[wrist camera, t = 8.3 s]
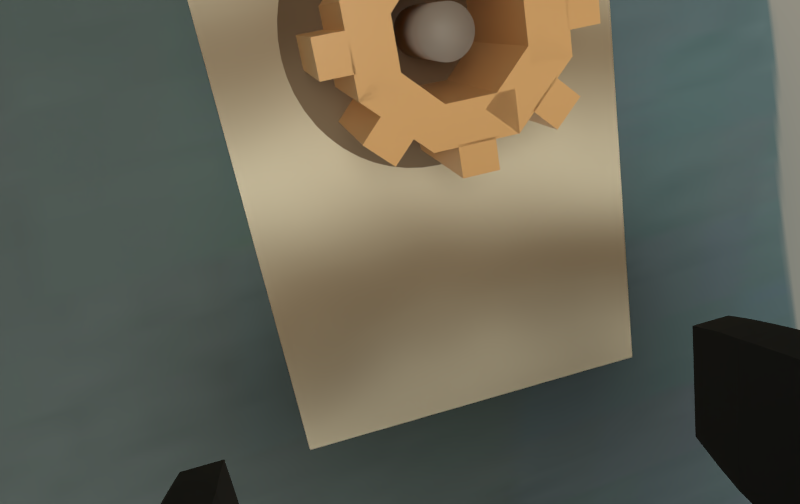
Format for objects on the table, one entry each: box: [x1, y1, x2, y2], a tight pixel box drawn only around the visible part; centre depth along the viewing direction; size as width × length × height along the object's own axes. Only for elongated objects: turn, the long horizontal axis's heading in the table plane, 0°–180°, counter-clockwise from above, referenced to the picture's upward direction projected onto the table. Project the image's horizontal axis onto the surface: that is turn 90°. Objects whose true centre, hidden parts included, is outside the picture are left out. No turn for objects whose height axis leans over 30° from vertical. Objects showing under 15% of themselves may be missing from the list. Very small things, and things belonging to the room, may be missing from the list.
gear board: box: [188, 0, 632, 450], centre depth 14 cm, size 20×10×6 cm, turn 10°
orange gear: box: [296, 0, 601, 178], centre depth 14 cm, size 6×6×4 cm
